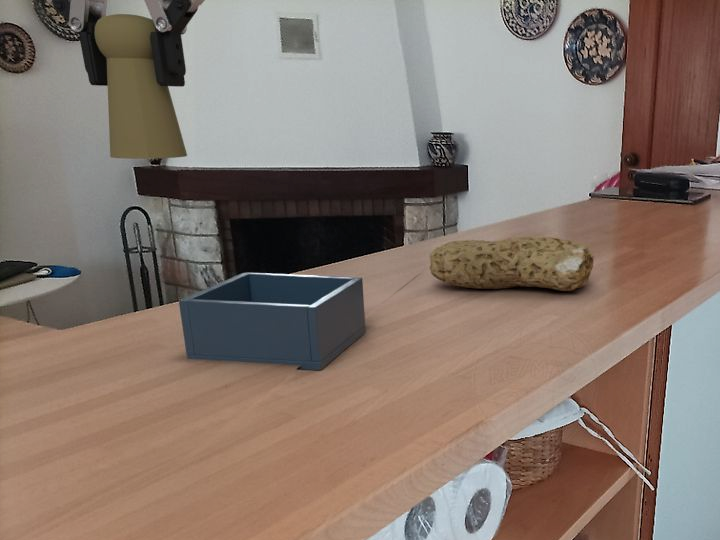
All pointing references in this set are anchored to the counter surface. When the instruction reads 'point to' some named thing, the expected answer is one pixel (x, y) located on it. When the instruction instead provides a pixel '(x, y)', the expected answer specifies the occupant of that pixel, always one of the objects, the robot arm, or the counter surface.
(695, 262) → the counter surface
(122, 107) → the cork
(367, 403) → the counter surface
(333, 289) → the bin
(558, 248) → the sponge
